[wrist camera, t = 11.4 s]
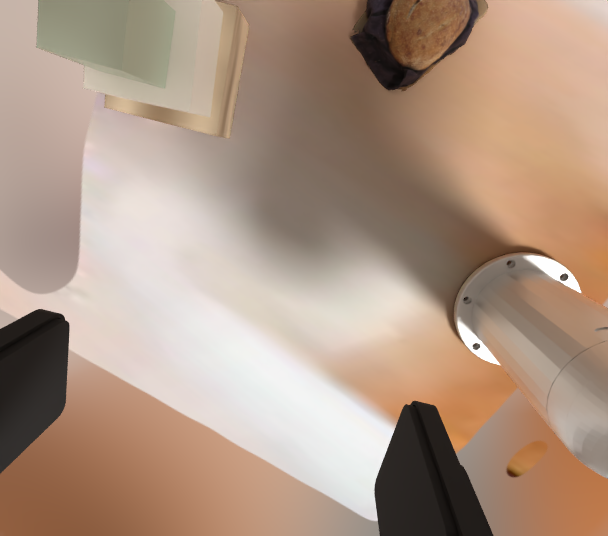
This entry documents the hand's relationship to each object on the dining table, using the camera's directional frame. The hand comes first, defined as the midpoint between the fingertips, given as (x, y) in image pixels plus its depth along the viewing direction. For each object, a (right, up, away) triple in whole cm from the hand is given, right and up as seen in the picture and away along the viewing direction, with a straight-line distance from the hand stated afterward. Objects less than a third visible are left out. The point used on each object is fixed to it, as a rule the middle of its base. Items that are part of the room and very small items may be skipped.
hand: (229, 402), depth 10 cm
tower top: (-9, +21, +21) cm, 31 cm away
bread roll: (+12, +26, +24) cm, 37 cm away
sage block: (-10, +20, +16) cm, 27 cm away
